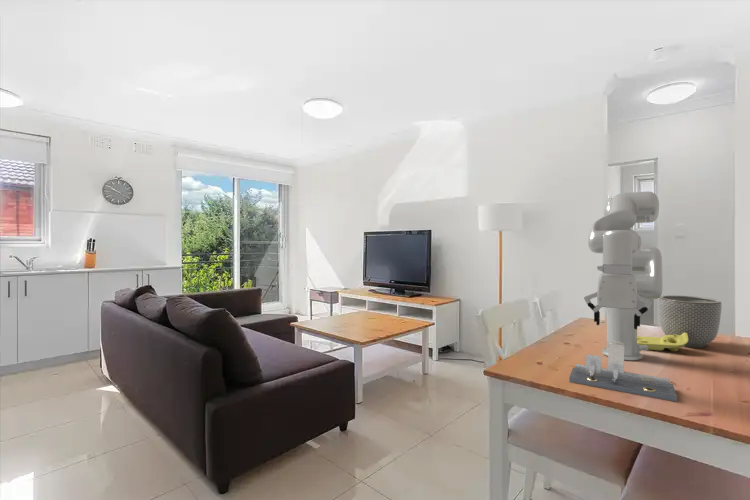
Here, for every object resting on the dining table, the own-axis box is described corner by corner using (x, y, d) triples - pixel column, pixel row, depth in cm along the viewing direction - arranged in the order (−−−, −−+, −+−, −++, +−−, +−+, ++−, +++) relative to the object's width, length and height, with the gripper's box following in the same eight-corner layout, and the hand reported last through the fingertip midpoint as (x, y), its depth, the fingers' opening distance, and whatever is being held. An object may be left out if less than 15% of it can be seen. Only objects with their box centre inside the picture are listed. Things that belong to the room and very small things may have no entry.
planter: (714, 342, 156) (715, 297, 156) (726, 354, 140) (727, 304, 139) (655, 335, 167) (656, 293, 166) (660, 346, 150) (661, 300, 150)
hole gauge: (569, 381, 115) (569, 359, 115) (573, 371, 123) (573, 351, 123) (676, 401, 100) (677, 376, 100) (672, 389, 109) (673, 365, 109)
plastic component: (626, 342, 149) (625, 327, 157) (627, 356, 152) (626, 341, 159) (690, 346, 138) (686, 329, 145) (690, 361, 141) (686, 344, 148)
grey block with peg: (607, 380, 110) (607, 346, 110) (608, 372, 117) (608, 340, 116) (623, 383, 108) (624, 349, 108) (623, 375, 115) (624, 342, 114)
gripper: (583, 270, 115) (582, 325, 115) (653, 272, 105) (652, 332, 105) (585, 268, 121) (584, 321, 121) (651, 271, 111) (650, 327, 111)
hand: (616, 326), depth 113 cm, fingers open, 9 cm apart
